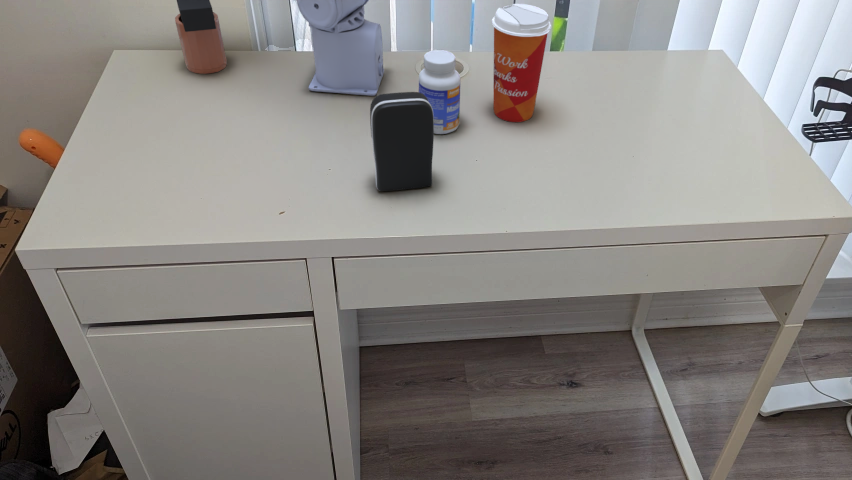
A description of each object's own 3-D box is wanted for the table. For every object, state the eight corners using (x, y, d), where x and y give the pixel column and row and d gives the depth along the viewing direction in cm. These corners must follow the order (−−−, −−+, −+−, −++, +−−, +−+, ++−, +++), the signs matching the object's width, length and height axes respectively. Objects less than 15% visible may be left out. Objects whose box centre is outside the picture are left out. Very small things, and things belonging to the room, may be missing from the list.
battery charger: (428, 170, 89) (428, 85, 82) (434, 187, 87) (435, 101, 79) (371, 176, 88) (366, 89, 80) (376, 194, 85) (371, 106, 77)
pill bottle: (453, 138, 95) (455, 69, 89) (413, 131, 96) (413, 62, 89) (463, 118, 99) (466, 51, 93) (425, 111, 100) (425, 44, 93)
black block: (216, 29, 98) (212, 7, 96) (185, 32, 97) (179, 10, 95) (207, 3, 104) (203, -18, 102) (177, 6, 103) (172, -16, 101)
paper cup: (474, 108, 101) (479, 9, 92) (514, 93, 106) (523, -3, 96) (512, 132, 97) (522, 31, 88) (552, 115, 102) (565, 18, 92)
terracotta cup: (232, 58, 107) (223, 11, 103) (220, 75, 103) (210, 27, 98) (194, 54, 107) (183, 8, 102) (180, 72, 103) (168, 24, 98)
